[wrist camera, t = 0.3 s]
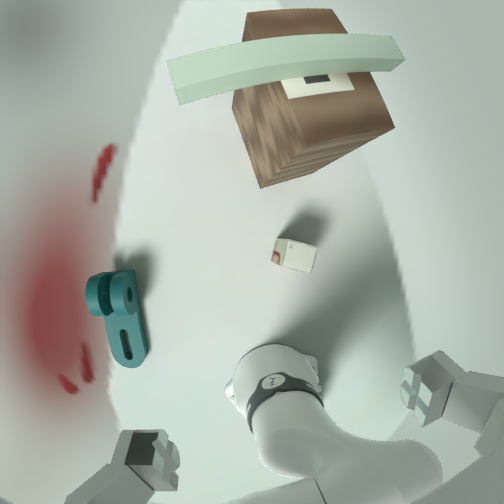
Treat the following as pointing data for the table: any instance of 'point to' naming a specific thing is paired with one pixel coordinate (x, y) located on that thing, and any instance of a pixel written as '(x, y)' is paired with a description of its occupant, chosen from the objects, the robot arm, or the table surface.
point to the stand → (305, 106)
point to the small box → (294, 255)
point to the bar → (279, 62)
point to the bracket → (119, 314)
